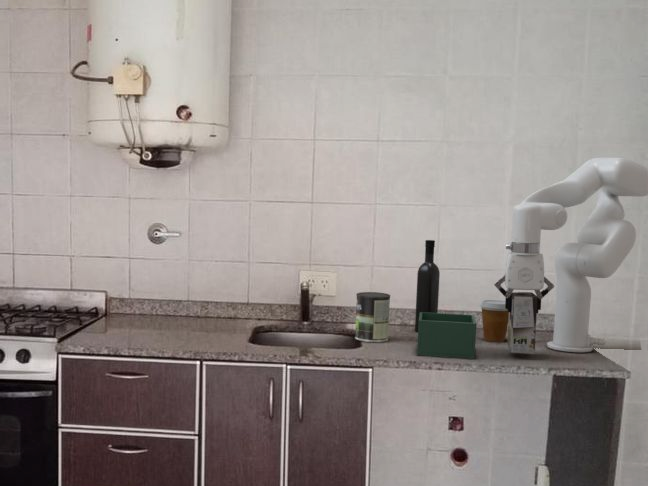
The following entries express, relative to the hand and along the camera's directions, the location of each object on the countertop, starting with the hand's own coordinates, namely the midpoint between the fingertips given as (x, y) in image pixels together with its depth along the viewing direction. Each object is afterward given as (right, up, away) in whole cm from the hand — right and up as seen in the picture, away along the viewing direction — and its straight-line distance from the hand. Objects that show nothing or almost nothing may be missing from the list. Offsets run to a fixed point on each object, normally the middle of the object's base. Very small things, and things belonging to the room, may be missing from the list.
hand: (522, 311), depth 230 cm
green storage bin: (-20, -12, +6) cm, 24 cm away
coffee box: (0, -11, +2) cm, 11 cm away
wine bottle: (-18, -8, +38) cm, 43 cm away
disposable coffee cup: (0, -10, +26) cm, 27 cm away
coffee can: (-39, -10, +23) cm, 46 cm away
